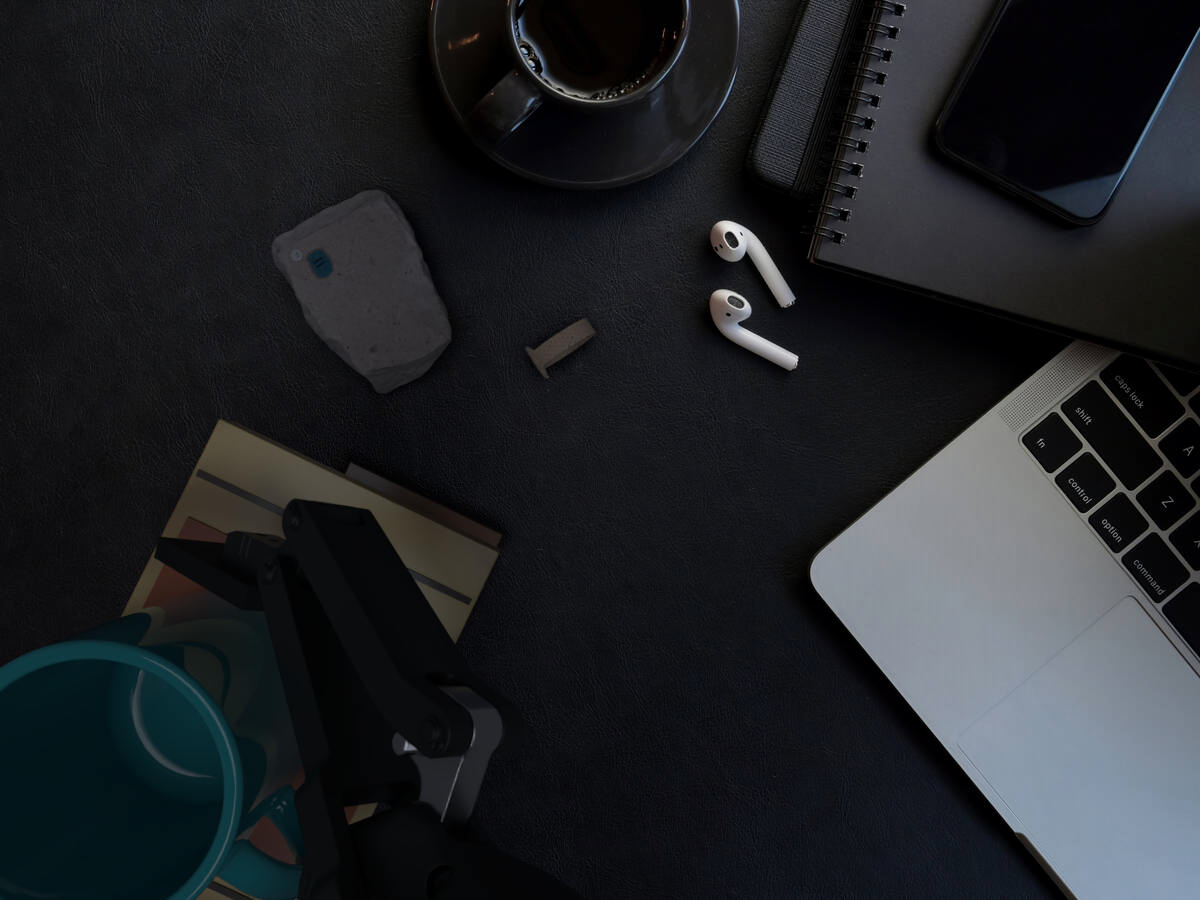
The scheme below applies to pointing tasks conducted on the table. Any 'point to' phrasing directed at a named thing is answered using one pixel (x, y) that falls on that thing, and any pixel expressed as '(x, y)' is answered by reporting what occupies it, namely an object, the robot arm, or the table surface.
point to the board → (256, 504)
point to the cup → (148, 759)
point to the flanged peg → (560, 345)
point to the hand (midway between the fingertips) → (147, 737)
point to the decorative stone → (366, 288)
